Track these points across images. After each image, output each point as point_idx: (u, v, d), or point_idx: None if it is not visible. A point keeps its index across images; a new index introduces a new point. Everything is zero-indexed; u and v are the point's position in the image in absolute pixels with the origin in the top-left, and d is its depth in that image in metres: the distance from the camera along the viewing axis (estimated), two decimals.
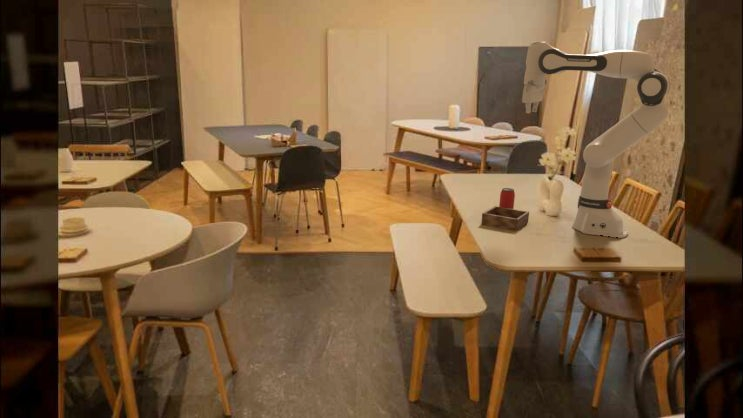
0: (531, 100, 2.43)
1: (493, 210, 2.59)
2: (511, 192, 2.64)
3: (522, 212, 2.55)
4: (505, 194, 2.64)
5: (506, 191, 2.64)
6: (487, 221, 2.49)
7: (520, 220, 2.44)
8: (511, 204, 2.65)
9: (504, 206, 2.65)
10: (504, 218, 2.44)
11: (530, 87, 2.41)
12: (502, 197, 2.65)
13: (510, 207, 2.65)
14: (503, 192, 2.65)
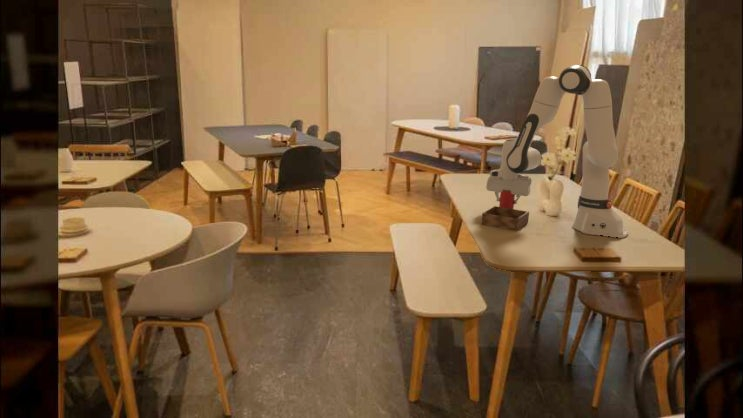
0: None
1: (493, 210, 2.59)
2: None
3: (522, 212, 2.55)
4: (505, 194, 2.64)
5: (506, 191, 2.64)
6: (487, 221, 2.49)
7: (520, 220, 2.44)
8: (511, 204, 2.65)
9: (504, 206, 2.65)
10: (504, 218, 2.44)
11: None
12: (502, 197, 2.65)
13: (510, 207, 2.65)
14: (503, 192, 2.65)
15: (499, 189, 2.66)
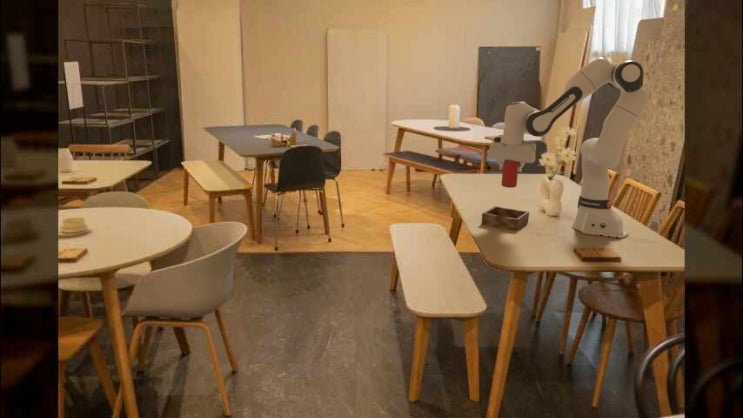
0: None
1: (493, 210, 2.59)
2: (514, 162, 2.48)
3: (522, 212, 2.55)
4: (508, 164, 2.48)
5: (509, 161, 2.48)
6: (487, 221, 2.49)
7: (520, 220, 2.44)
8: (515, 175, 2.49)
9: (507, 177, 2.49)
10: (504, 218, 2.44)
11: None
12: (505, 168, 2.49)
13: (513, 178, 2.49)
14: (506, 162, 2.49)
15: (502, 156, 2.50)
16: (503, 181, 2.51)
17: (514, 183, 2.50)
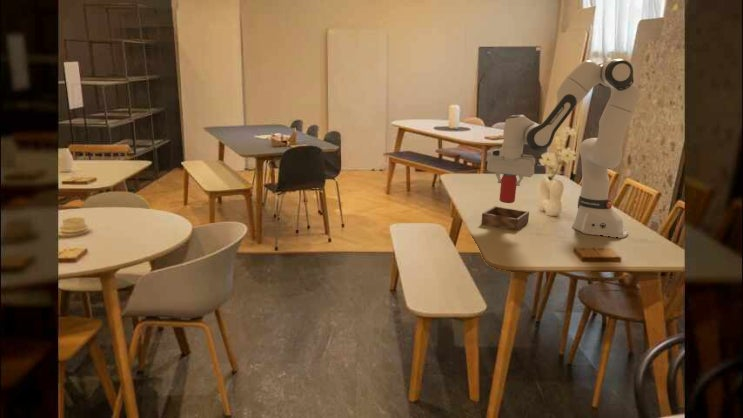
0: None
1: (493, 210, 2.59)
2: (513, 178, 2.45)
3: (522, 212, 2.55)
4: (507, 180, 2.45)
5: (508, 177, 2.45)
6: (487, 221, 2.49)
7: (520, 220, 2.44)
8: (513, 191, 2.46)
9: (505, 193, 2.47)
10: (504, 218, 2.44)
11: None
12: (503, 183, 2.47)
13: (512, 194, 2.47)
14: (504, 178, 2.46)
15: (500, 170, 2.47)
16: (501, 196, 2.49)
17: (512, 198, 2.47)
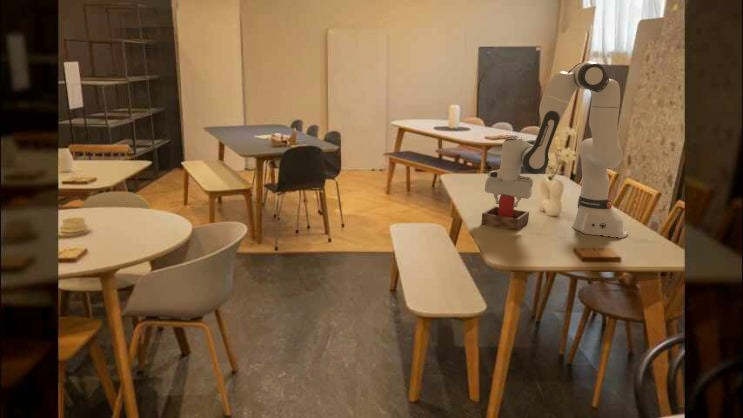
0: None
1: (493, 210, 2.59)
2: (511, 197, 2.47)
3: (522, 212, 2.55)
4: (504, 199, 2.48)
5: (506, 196, 2.47)
6: (487, 221, 2.49)
7: (520, 220, 2.44)
8: (511, 210, 2.49)
9: (503, 212, 2.49)
10: (504, 218, 2.44)
11: None
12: (501, 203, 2.49)
13: (510, 213, 2.49)
14: (502, 197, 2.48)
15: (498, 191, 2.50)
16: None
17: None
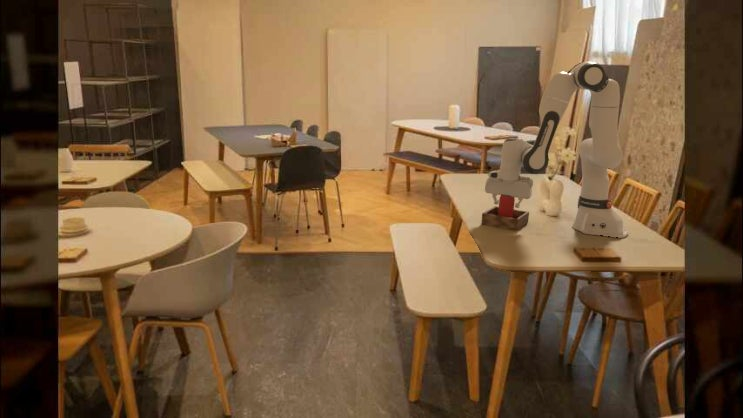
0: None
1: (493, 210, 2.59)
2: (511, 197, 2.47)
3: (522, 212, 2.55)
4: (505, 199, 2.48)
5: (506, 196, 2.47)
6: (487, 221, 2.49)
7: (520, 220, 2.44)
8: (511, 210, 2.49)
9: (503, 212, 2.49)
10: (504, 218, 2.44)
11: None
12: (501, 203, 2.49)
13: (510, 213, 2.49)
14: (502, 197, 2.48)
15: (498, 192, 2.50)
16: None
17: None
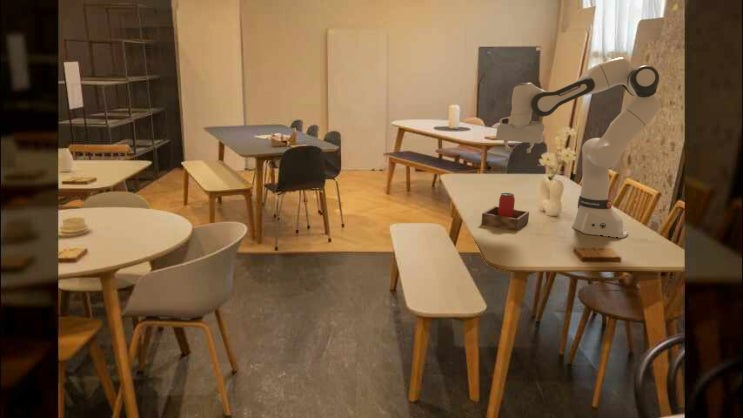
0: None
1: (493, 210, 2.59)
2: (511, 197, 2.47)
3: (522, 212, 2.55)
4: (505, 199, 2.48)
5: (506, 196, 2.47)
6: (487, 221, 2.49)
7: (520, 220, 2.44)
8: (511, 210, 2.49)
9: (503, 212, 2.49)
10: (504, 218, 2.44)
11: None
12: (501, 203, 2.49)
13: (510, 213, 2.49)
14: (502, 197, 2.48)
15: (510, 138, 2.53)
16: None
17: None
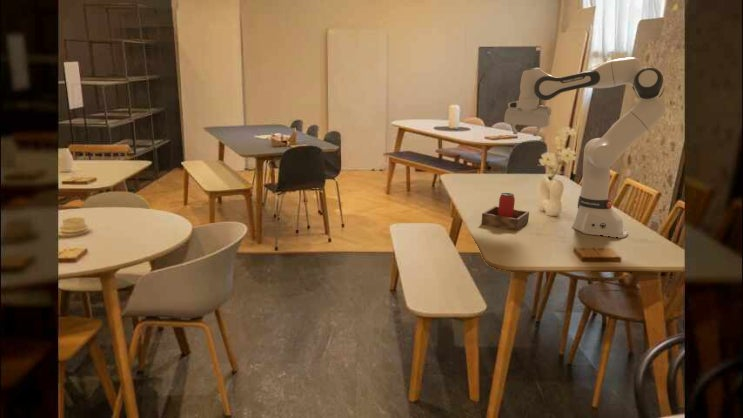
0: None
1: (493, 210, 2.59)
2: (511, 197, 2.47)
3: (522, 212, 2.55)
4: (505, 199, 2.48)
5: (506, 196, 2.47)
6: (487, 221, 2.49)
7: (520, 220, 2.44)
8: (511, 210, 2.49)
9: (503, 212, 2.49)
10: (504, 218, 2.44)
11: None
12: (501, 203, 2.49)
13: (510, 213, 2.49)
14: (502, 197, 2.48)
15: (517, 121, 2.60)
16: None
17: None
